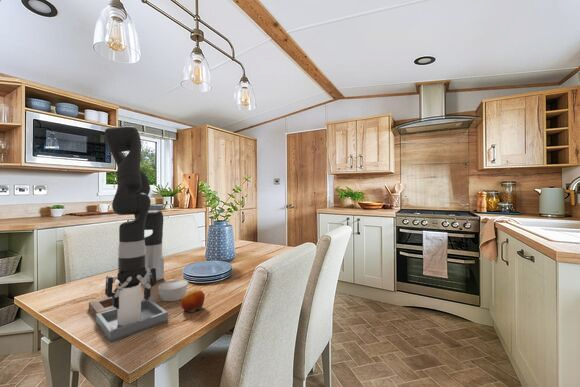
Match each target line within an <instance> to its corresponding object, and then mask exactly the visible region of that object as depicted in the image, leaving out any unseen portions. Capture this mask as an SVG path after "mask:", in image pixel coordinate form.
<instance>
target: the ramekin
mask: <svg viewBox="0 0 580 387" xmlns="http://www.w3.org/2000/svg"><path fill="white" fill-rule="evenodd" d="M188 286H189V281H187V280H186V279H185V280H184V279H173V280H168V281H163V282H162V283H160V284H158V287H157V290H158V293H159V298H160V300H161V301H163V302H175V301H179V300H180V301H181V299H182V297H183V296H184V295H185V294H186V293H188Z"/></svg>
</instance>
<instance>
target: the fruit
mask: <svg viewBox="0 0 580 387" xmlns="http://www.w3.org/2000/svg"><path fill="white" fill-rule="evenodd" d="M205 296H206V295H205V292H204V291H203V290H201V289H191V290H190V291H189V292H188V291H187V293H186V294H185V295H184V296H183V297H182V299H180V304H181V308H182V309H183V311H185V312H188V313H190V312H191V313H195V312H196V310H199V309H203V310H204V308H203V306H204V304H205V303H204V302H205V299H206V298H205Z"/></svg>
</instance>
